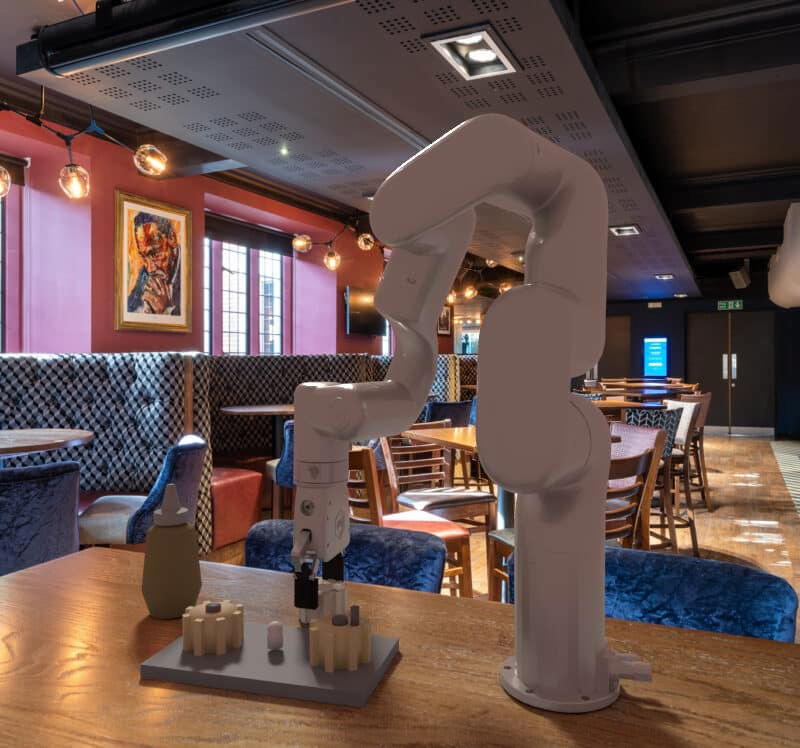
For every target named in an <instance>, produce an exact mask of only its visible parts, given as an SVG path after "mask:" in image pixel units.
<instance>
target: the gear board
mask: <svg viewBox="0 0 800 748" xmlns="http://www.w3.org/2000/svg"><path fill="white" fill-rule="evenodd" d="M201 603H202V604H201ZM201 603H200V604H198V605H195V607H192V606H189V607H187V608H186V609H185V614H183V615H182V617H181V618H182V619H181V620H182V635H181V636H180V637H179V636H178V638H176V639H175V640H173V641H172V642H171V643H169V644H168V645H166V646H165V647H164V648H162V649H161V650H159V651H158V652H156V653H155V654H153V655H151V656H150V657H149V658H147V659H146V660H145V661H143V662H142V663H140V665H139V666H140V667H139V668H140V675H139V676H140V679H147V680H154V681H161V682H168V683H176V684H184V685H192V686H198V687H206V688H212V689H213V688H214V689H220V690H227V691H235V692H243V693H249V694H250V693H251V694H256V695H265V696H272V697H280V698H286V699H293V700H294V699H295V700H302V701H309V702H315V701H316V702H317V703H321V704H322V703H324V704H330V705H331V704H332V705H337V704H338V705H339V706H344V705H347V706H346V707H353V708H359V707H360V708H361V709H364V707H365V705H366V704H367V702H368V700H369V699H370V697H371V695H372V694H373V693H374V692H375V689H376V688H377V686H378V685H379V683H380V682H381V680H382V678H383V677H384V676H385V674H386V672H387V670H388V669H389V667H390V665H391V664H392V662H393V661H394V659H395V657H396V656H397V654H399V653H398V652H399V651H400V637H395V636H394V637H392V636H391V637H390V636H382V635H373V634H372V631H371V628H372V627H371V624H370V617H368V616H366V615H363V616H360V606H359V605H356V604H355V605H351V606H349V607H350V611H348V612H346V613H345V614H332V613H331V612H330V613H326V614H324V617H322V618H320V619H312V620H311V621H310V623H309V628H308V627H306V628H305V627H297V626H288V625H282V623H281V622H280V621H276V620H274V621H271V622H270V623H260V622H259V623H258V622H251V621H244V605H243V604H242V603H238V604H234V603H232V600H230V599H224V600H223V601H214V602H213V601H211V600H205V601H202V602H201ZM338 705H337V706H338Z"/></svg>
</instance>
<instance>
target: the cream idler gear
mask: <svg viewBox="0 0 800 748" xmlns="http://www.w3.org/2000/svg"><path fill="white" fill-rule="evenodd" d="M318 579H319V578H318ZM348 591H349V585H348V583H345V581H344V582H342V581H335V580H333V579H328V580H323V579H322V578H320V579H319V590H318V608H317V609H316V610H311V609H303V608H297V619H298V620H299V621H300V622H301V623H302V624H306V625H307V624H310V621H311V620H312V619H320V618H322V617H324V614H326V613H330V612H331V613H332V614H345V613H346V612H349V592H348Z"/></svg>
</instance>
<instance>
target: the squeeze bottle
mask: <svg viewBox="0 0 800 748" xmlns="http://www.w3.org/2000/svg"><path fill="white" fill-rule="evenodd" d="M163 494H164V495H163V500H162V503H161V508H160V509H156V510H154V511H153V524H154V525H152V526H150V527H149V528H148V529H147V530H146V536H145V549H144V559H143V569H142V570H143V571H142V578H141V579H142V580H141V594H142V597H143V599H144V602H145V605H146V607H147V610H148V612H149V615H150V617H152V618H154V619H158V620H160V619H161V620H170V619H178V618H182V615H183V614H185V609H186V608H187V607H189V606H192V607H196V606H197V601H198V599H199V595H200V592H201V589H202V586H203V581H202V575H201V574H202V573H201V566H200V565H201V564H200V557H199V555H200V554H199V547H198V539H197V531H196V530H197V528H196V527H195V525H194V524H192V523H190V522H189V509H188V508H186V507H181V502H180V500H179V495H178V494H179V493H178V490H177V487H176V484H175V483H167V484H166V485H165V490H164V493H163Z"/></svg>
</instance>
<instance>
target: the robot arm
mask: <svg viewBox="0 0 800 748" xmlns="http://www.w3.org/2000/svg"><path fill="white" fill-rule="evenodd" d="M607 194H608V193H607V190H606V187H605V185H604V182H603V180H602V178H601V176H600V175H599V173H598V172H597V171H596V170H595V168H594V167H593V166H592V165H591V164H590V163H589V162H588V161H586V160H585V159H583V158H581V157H579V155H576V154H575V153H573V152H571V151H568V150H567V149H565V148H563V147H561V146H559V145H557V144H555V143H554V142H552V141H550V140H548V139H547V138H546V137H544V136H542V135H540V134H539V133H537V132H535V131H533V130H532V129H531V128H529V127H527V126H525V125H524V124H523V123H522V122H519V120H516V119H514V118H512V117H510V116H508V115H505V114H501V113H493V112H492V113H491V112H490V113H486V114H485V113H484V114H479V115H477V116H474V117H472V118H470V119H467V120H466V121H464V122H462V123H460V124H459V125H457V126H455V127H454V128H453V129H452V130H449V131H448V132H447V133H445V134H444V135H443V136H441V137H440V138H438V139H437V140H436V141H434V142H432V144H429V145H428V146H427V147H425V148H423V150H421V151H419V152H418V153H417V154H416V155H414V156H413V157H411V158H410V159H408V160H407V161H406V162H404V163H403V164H402V165H401V166H399V167H398V168H397V169H396V170H394V171H393V172H392V173H390V175H388V177H386V179H385V180H384V181H383V182H382V183H381V185H380V186H379V187H378V189H377V190H376V192H375V194H374V196H373V198H372V201H371V203H370V207H369V213H368V214H369V215H368V217H369V218H368V219H369V225H370V228H371V232H372V233H373V235H374V237H375V238H376V239H377V240H378V241H379V242H380V243H382V244H383V245H386V246H388V247H390V248H392V249H391V251H390V255H389V257H388V260H387V262H386V264H385V267H384V270H383V273H382V275H381V277H380V280H379V282H378V284H377V285H378V286H377V287H376V290H375V293H374V295H373V306H374V308H375V310H376V311H377V312H378V314H379V315H381V316H382V317H383V318H384V319H385V320H386V321H387V322H388V323H389V325H390V327H391V329H392V331H393V336H394V350H393V356H392V359H391V361H390V365H389V366H388V370H387V372H386V375H385V377H384V379H383V381H366V382H351V383H342V382H335V381H308V382H302V383H299V384H298V385H297V386H296V388H295V390H294V395H293V396H294V397H293V479H292V480H293V484H294V485H296V489H295V499H294V510H293V511H294V513H293V532H292V533H293V535H292V538H293V539H292V541H293V542H292V545H293V547H292V550H291V552H290V560H291V563H292V564H291V569H292V572H293V573H292V577H293V579H294V584H293V587H294V588H293V590H294V591H293V592H294V593H293V599H294V600H293V603H294V604H293V605H294V607H295V608H296V609H298V608H303V609H311V610H316V609H317V608H318V590H319V578H316V577H317V573H318V571H319V566H320V563H321V579H323V580H328V579H333V580H335V581H342V582H344V583H345V557H344V555H345V552H346V549H345V548H347V547H348V546H349V544H350V540H351V527H350V503H349V502H350V501H349V492H348V491H349V490H348V484H349V467H350V464H349V462H350V461H349V458H350V457H349V456H350V455H349V454H350V453H349V451H350V449H349V448H350V447H349V446H350V443H357V442H364V441H365V442H366V441H370V440H371V441H372V440H375V439H379V438H387V437H393V436H399V435H402V434H403V433H405V432H407V431H408V430H409V429H411V427H413V425H414V424H415V423H416V421H418V418H420V415H421V413H422V411H423V410H424V407H425V405H426V403H427V401H428V398H429V395H430V393H431V391H432V388H433V386H434V383H435V379H436V376H437V372H438V366H439V365H438V362H439V339H438V333H437V327H438V326H437V325H438V321H439V318H440V317H441V314H442V311H443V309H444V306H445V305H446V303H447V299H448V296H449V295H450V291H451V290H452V287H453V284H454V283H455V280H456V278H457V276H458V272H459V271H460V268H461V266H462V263H463V261H464V259H465V256H466V254H467V252H468V249H469V247H470V244H471V242H472V240H473V237H474V234H475V232H476V231H475V230H476V226H477V213H476V210H475V207H476V206H478V205H480V204H482V203H486V204H489V205H491V206H494V207H496V208H499V209H503V210H506V211H508V212H512V213H514V214H517V215H522V216H524V217H526V218H528V219H530V220H531V223H532V226H531V228H530V232H529V234H528V237H527V240H526V246H525V251H524V283H522V284H519V285H515V286H513V287H510V288H508V289H507V290H505V291H503V292H502V293H501V294H500V295H498V297H496V298H495V300H493V302H492V303H491V305H490V306H489V307H488V309H487V311H486V312H485V315H484V317H483V319H482V323H481V326H480V330H479V334H478V342H477V343H478V344H477V356H476V357H477V359H476V361H477V364H476V389H475V390H476V391H475V393H476V396H475V397H476V398H475V424H474V425H475V433H474V434H475V444H476V451H477V456H478V460H479V462H480V465H481V467H482V468H483V470H484V472H485V474H486V475H487V476H488V478H489V479H490V481H492V482H493V484H495V485H497V486H498V487H500V489H502V490H504V491H507V492H509V493H512V494H516V500H515V501H516V502H515V509H514V510H515V511H514V524H513V525H514V527H513V528H514V531H513V533H514V541H513V542H514V544H513V545H514V549H513V550H514V551H513V553H514V555H513V559H514V560H513V561H514V564H513V565H514V571H513V573H514V575H513V580H514V581H513V582H514V586H513V587H514V589H513V590H514V592H513V593H514V594H513V595H514V596H513V597H514V598H513V599H514V602H513V603H514V605H513V607H514V608H513V609H514V611H513V612H514V613H513V614H514V615H513V616H514V623H513V624H514V627H513V628H514V629H513V630H514V643H513V644H514V654H513V655H511V656H509V657H508V658H506V659H505V660H504V661H503V662H502V664H501V666H500V667H499V669H500V670H499V678H500V683H501V686H502V688H503V689H504V690H505V691H506V692H507V693H508V694H509V695H511V697H513V698H515V700H516V699H517V701H520V702H522V703H524V704H526V705H529V706H531V707H534V708H538V709H541V710H546V711H551V712H556V713H557V712H558V713H569V714H571V713H575V714H576V713H586V712H593V711H597V710H601V709H604V708H606V707H608V706H610V705H611V704H613V703H614V702H615V701H616V700H617V699H618V697H620V693H621V679H622V680H630V681H633V682H638V683H647V684H651V683H652V681H653V680H652V678H653V677H652V676H653V675H652V672H653V671H652V663H651V662H645V661H638V656H637V654H635V653H627V652H625V653H622V652H621V653H620V652H614V651H615V649H610V648H609V644H608V637H607V636H606V614H605V613H606V565H605V564H606V512H607V511H606V510H607V508H606V507H607V495H608V485H609V475H610V470H611V461H612V460H611V459H612V435H611V429H610V426H609V423H608V421H607V418H606V416H605V415H604V413H603V412H602V410H601V409H600V408H599V407H598V406H597V404H595V403H594V402H593V401H592V400H590V399H589V398H588V397H585V396H583V395H581V394H578V393H575V392H571V385H572V384H571V383H572V378H577V377H580V376H582V375H585V374H587V373H588V372H590V371H591V370H592V369H594V367H595V366H597V364H598V363H599V361H600V359H601V357H602V355H603V353H604V350H605V349H604V348H605V343H606V319H607V318H606V315H607V314H606V313H607V312H606V309H607V286H608V285H607V282H608V281H607V279H608V267H607V266H608V263H607V262H608V260H607V258H608V257H607V256H608V235H609V234H608V232H609V202H608V195H607ZM308 563H311V566H309V564H308Z"/></svg>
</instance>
